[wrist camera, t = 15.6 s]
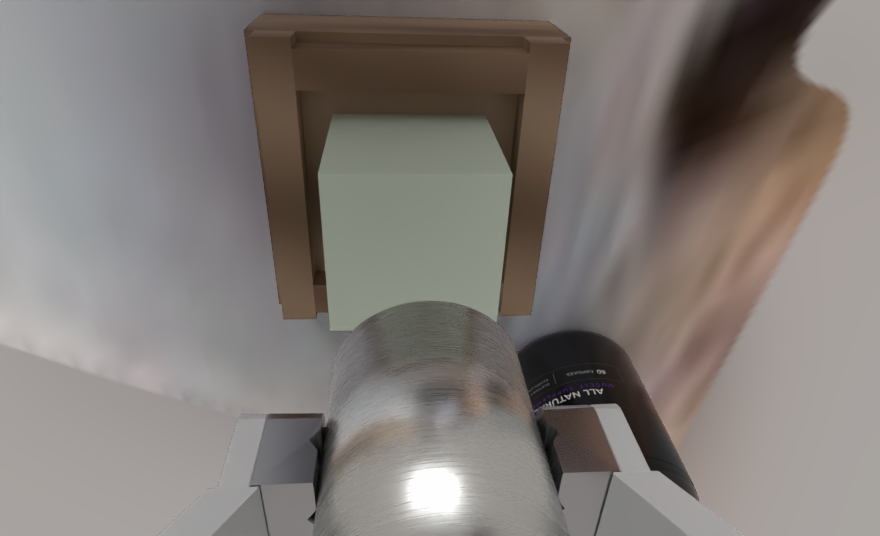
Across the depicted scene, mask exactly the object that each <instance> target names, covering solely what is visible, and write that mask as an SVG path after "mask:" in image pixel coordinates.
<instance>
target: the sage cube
mask: <svg viewBox="0 0 880 536" xmlns="http://www.w3.org/2000/svg"><path fill="white" fill-rule="evenodd" d="M512 177H513V174H512V172H511V170H510V167H509V165H508V163H507V161H506V159H505V157H504V155H503V152H502V150H501V148H500V146H499V144H498V142H497V139H496V137H495V135H494V133H493V131H492V129H491V126H490V124H489V122H488V120H487V118H486V116H485V115H409V114H333V115H332V119H331V123H330V127H329V131H328V135H327V139H326V143H325V147H324V151H323V155H322V159H321V163H320V167H319V171H318V183H319V196H320V209H321V222H322V235H323V247H324V260H325V273H326V286H327V299H328V312H329V325H330V331H353V330H354V329H355V328H356V327H357V326H358V325H359V324H361V323H362V322H364V321H365V320H366V319H368V318H369V317H371V316H373V315H375V314H376V313H378V312H381V311H383V310H385V309H388V308H390V307H394V306H397V305H400V304H405V303H410V302H416V301H444V302H451V303H456V304H460V305H464V306H467V307H470V308H472V309H475V310H477V311H479V312H481V313H483V314H485V315H486V316H488V317H490V318H491V319H492V320H494V321H495V322H496V323H497V316H498V307H499V297H500V288H501V279H502V270H503V260H504V251H505V242H506V232H507V223H508V214H509V204H510V195H511V186H512Z"/></svg>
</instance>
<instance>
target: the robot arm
mask: <svg viewBox="0 0 880 536" xmlns="http://www.w3.org/2000/svg"><path fill="white" fill-rule="evenodd" d="M536 421H537V424H538V428H539V431H540V435H541V438H542V442H543V445H544V448H545V452H546V455H547V459H548V462H549V466H550V469H551V473H552V476H553V479H554V483H555V486H556V490H557V493H558V497H559V500H560V504H561V507H562V510H563V514H564V517H565V521H566V524H567V528H568V531H569V534H570V536H744V535H742V534H741V533H740V532H739V531H737V530H736V529H734V528H733V527H732V526H731V525H729V524H728V523H727V522H725V521H724V520H723V519H721V518H720V517H719V516H717V515H716V514H715V513H713V512H712V511H711V510H710V509H708V508H707V507H706V506H704V505H703V504H702V503H700V502H699V501H698V500H696V499H695V498H694V497H692V496H691V495H690V494H688V493H687V492H686V491H684V490H683V489H682V488H680V487H679V486H678V485H676V484H675V483H674V482H672V481H671V480H670V479H668V478H667V477H666V476H665V475H663V474H662V473H661V472H659V471H650V469H649V466H648V464H647V462H646V460H645V458H644V456H643V454H642V452H641V450H640V448H639V445H638V443H637V441H636V439H635V437H634V435H633V433H632V431H631V429H630V427H629V424H628V422H627V420H626V418H625V416H624V414H623V412H622V410H621V408H620V407H619V406H618V405H617V404H594V405H570V406H545V407H539V408H538V410H537V412H536ZM325 430H326V424H325V416H324V414H323V413H320V414H241V416H240V417H239V418H238V420H237V421H236V425H235V428H234V431H233V435H232V438H231V442H230V445H229V448H228V452H227V455H226V459H225V462H224V465H223V469H222V472H221V476H220V479H219V482H218V486H217V488H210V489H207V490H206V491H205V492H204V493H203V494H202V495H201V496H200V497H199V498H197V499H196V500H195V501H194V502H193V503H192V504H191V505H190V506H189V507H188V508H187V509H186V510H184V511H183V512H182V513H181V514H180V515H179V516H178V517H177V518H176V519H175V520H174V521H173V522H172V523H170V524H169V525H168V526H167V527H166V528H165V529H164V530H163V531H162V532H161V533H160V534H159V535H157V536H313V529H314V521H315V512H316V506H317V498H318V489H319V481H320V470H321V462H322V455H323V447H324V439H325Z"/></svg>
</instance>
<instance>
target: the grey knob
mask: <svg viewBox="0 0 880 536" xmlns="http://www.w3.org/2000/svg"><path fill="white" fill-rule="evenodd" d="M313 536H570V534H569V531H568V528H567V524H566V521H565V517H564V514H563V510H562V507H561V504H560V500H559V497H558V493H557V490H556V486H555V483H554V479H553V476H552V473H551V469H550V466H549V462H548V459H547V455H546V452H545V448H544V445H543V442H542V438H541V435H540V431H539V428H538V424H537V421H536V417H535V414H534V411H533V407H532V404H531V400H530V397H529V393H528V390H527V387H526V383H525V380H524V376H523V373H522V369H521V366H520V362H519V359H518V356H517V352H516V349H515V347H514V345H513V343H512V341H511V339H510V337H509V336H508V335H507V333H506V332H505V331H504V330H503V329H502V327H501V326H500V325H499V324H498V323H496V322H495V321H494V320H492V319H491V318H490V317H488V316H486V315H485V314H483V313H481V312H479V311H477V310H475V309H472V308H470V307H467V306H464V305H460V304H456V303H451V302H444V301H416V302H410V303H405V304H400V305H397V306H394V307H390V308H388V309H385V310H383V311H381V312H378V313H376V314H375V315H373V316H371V317H369V318H368V319H366V320H365V321H364V322H362V323H361V324H359V325H358V326H357V327H356V328H355V329H354V330H353V331H352V332H351V333H350V334H349V335H348V336H347V338H346V339H345V340H344V341H343V343H342V345H341V346H340V348H339V350H338V352H337V355H336V357H335V360H334V364H333V370H332V378H331V386H330V395H329V403H328V412H327V420H326V430H325V439H324V447H323V455H322V462H321V470H320V481H319V489H318V498H317V506H316V512H315V521H314V529H313Z"/></svg>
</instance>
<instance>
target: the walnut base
mask: <svg viewBox="0 0 880 536" xmlns="http://www.w3.org/2000/svg"><path fill="white" fill-rule="evenodd" d="M244 34H245V42H246V50H247V57H248V65H249V73H250V81H251V88H252V96H253V104H254V111H255V119H256V127H257V135H258V142H259V150H260V158H261V165H262V173H263V181H264V189H265V196H266V204H267V212H268V219H269V227H270V235H271V243H272V250H273V258H274V266H275V273H276V281H277V289H278V297H279V304H282V311H283V319H316V317H317V312H328V299H327V286H326V273H325V260H324V247H323V235H322V222H321V209H320V196H319V183H318V171H319V167H320V163H321V159H322V155H323V151H324V147H325V143H326V139H327V135H328V131H329V127H330V123H331V119H332V115H333V114H409V115H485V116H486V118H487V120H488V122H489V124H490V126H491V129H492V131H493V133H494V135H495V137H496V139H497V142H498V144H499V146H500V148H501V150H502V152H503V155H504V157H505V159H506V161H507V163H508V165H509V167H510V170H511V172H512V174H513V177H512V186H511V195H510V204H509V214H508V223H507V232H506V242H505V251H504V260H503V270H502V279H501V288H500V297H499V307H498V309H499V312H500V316H515V315H531V312H532V305H533V299H534V292H535V285H536V278H537V271H538V264H539V257H540V250H541V243H542V236H543V229H544V222H545V215H546V208H547V201H548V195H549V188H550V181H551V174H552V167H553V160H554V153H555V146H556V139H557V132H558V125H559V118H560V111H561V104H562V97H563V91H564V84H565V77H566V70H567V63H568V56H569V49H570V42H571V37H569V36H568V35H567V34H565V33H564V32H563V31H561V30H560V29H559V28H557V27H556V26H555V25H553V24H552V23H551V22H549V21H520V20H481V19H443V18H404V17H365V16H326V15H287V14H261V15H260V16H259V17H258V18H257V19H256V20H254V21H253V22H252V23H251V24H250V25H249V26H248V27H247V28H246V29H245V30H244Z"/></svg>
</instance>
